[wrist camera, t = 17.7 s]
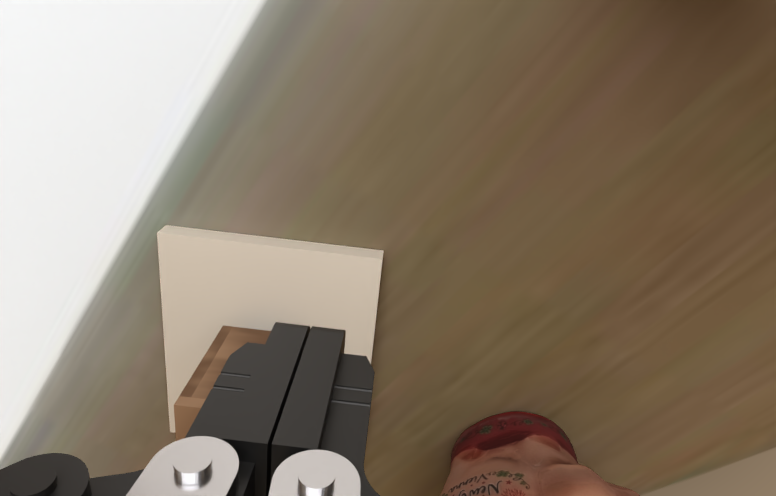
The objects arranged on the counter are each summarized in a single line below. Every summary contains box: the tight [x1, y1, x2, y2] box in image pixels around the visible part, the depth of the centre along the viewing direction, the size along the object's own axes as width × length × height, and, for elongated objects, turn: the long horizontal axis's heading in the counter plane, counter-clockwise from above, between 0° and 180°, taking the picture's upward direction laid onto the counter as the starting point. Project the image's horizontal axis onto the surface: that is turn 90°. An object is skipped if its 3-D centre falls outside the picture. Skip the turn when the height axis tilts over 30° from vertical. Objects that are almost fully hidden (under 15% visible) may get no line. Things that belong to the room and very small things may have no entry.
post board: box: [157, 225, 384, 432], centre depth 39 cm, size 16×18×11 cm
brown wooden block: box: [174, 326, 271, 441], centre depth 37 cm, size 6×6×9 cm
